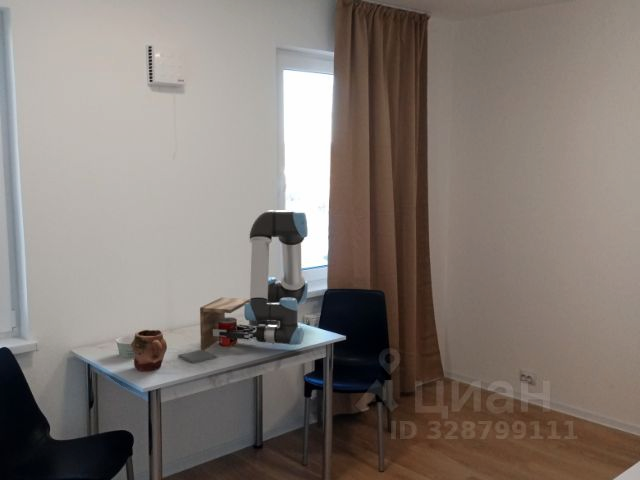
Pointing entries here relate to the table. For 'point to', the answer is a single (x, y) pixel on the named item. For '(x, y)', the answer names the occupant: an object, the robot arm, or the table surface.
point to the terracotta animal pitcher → (148, 349)
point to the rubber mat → (197, 356)
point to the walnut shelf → (216, 317)
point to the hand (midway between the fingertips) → (217, 330)
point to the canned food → (231, 326)
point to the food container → (125, 346)
